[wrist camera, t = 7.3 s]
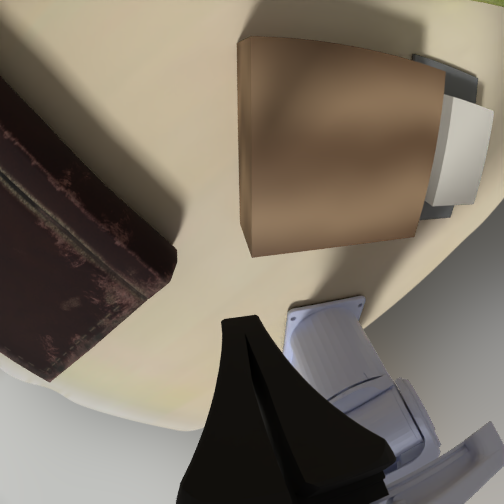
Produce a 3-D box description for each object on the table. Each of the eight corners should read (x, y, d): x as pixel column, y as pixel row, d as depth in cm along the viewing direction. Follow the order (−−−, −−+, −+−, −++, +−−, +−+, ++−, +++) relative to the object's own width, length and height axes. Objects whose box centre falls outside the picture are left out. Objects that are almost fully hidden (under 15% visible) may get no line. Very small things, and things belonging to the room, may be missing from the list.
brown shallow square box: (386, 210, 23) (414, 236, 20) (240, 224, 21) (252, 257, 18) (407, 64, 16) (445, 71, 13) (236, 43, 14) (251, 36, 11)
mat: (448, 216, 25) (450, 217, 24) (388, 221, 23) (390, 222, 23) (475, 77, 17) (477, 78, 16) (412, 53, 15) (415, 54, 15)
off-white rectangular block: (432, 206, 20) (417, 195, 22) (473, 204, 21) (459, 194, 23) (453, 96, 15) (435, 91, 17) (494, 111, 16) (477, 104, 18)
